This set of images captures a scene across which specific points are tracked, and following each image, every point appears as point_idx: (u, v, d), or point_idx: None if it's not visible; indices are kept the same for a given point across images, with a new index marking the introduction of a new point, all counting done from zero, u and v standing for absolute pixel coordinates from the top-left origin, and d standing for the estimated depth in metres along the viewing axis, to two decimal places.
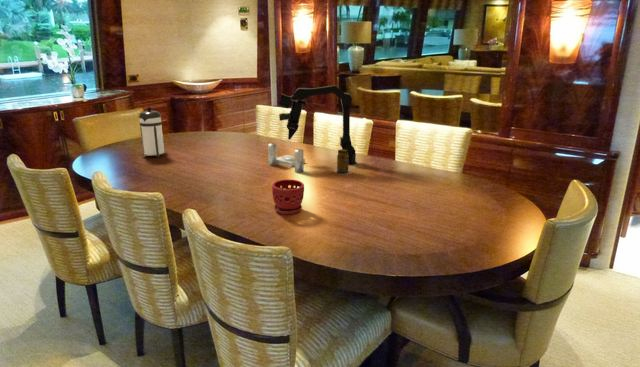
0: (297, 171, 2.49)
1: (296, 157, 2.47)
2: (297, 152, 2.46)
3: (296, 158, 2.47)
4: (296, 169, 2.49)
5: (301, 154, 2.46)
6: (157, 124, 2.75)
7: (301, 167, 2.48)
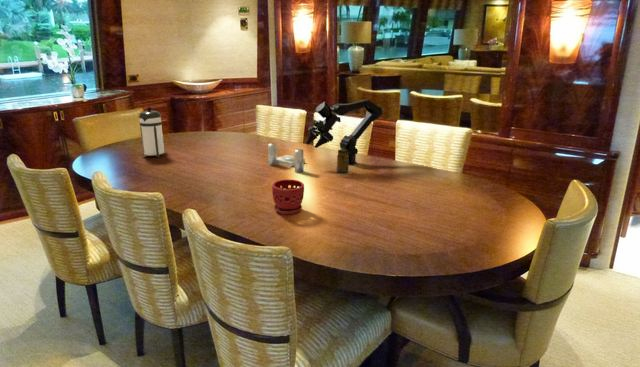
0: (297, 171, 2.49)
1: (296, 157, 2.47)
2: (297, 152, 2.46)
3: (296, 158, 2.47)
4: (296, 169, 2.49)
5: (301, 154, 2.46)
6: (157, 124, 2.75)
7: (301, 167, 2.48)
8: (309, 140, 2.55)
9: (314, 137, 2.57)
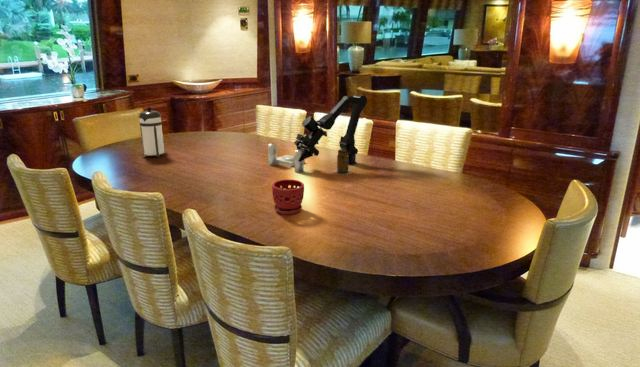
0: (297, 171, 2.49)
1: (296, 157, 2.47)
2: (297, 152, 2.46)
3: (296, 158, 2.47)
4: (296, 169, 2.49)
5: (301, 154, 2.46)
6: (157, 124, 2.75)
7: (301, 167, 2.48)
8: None
9: None
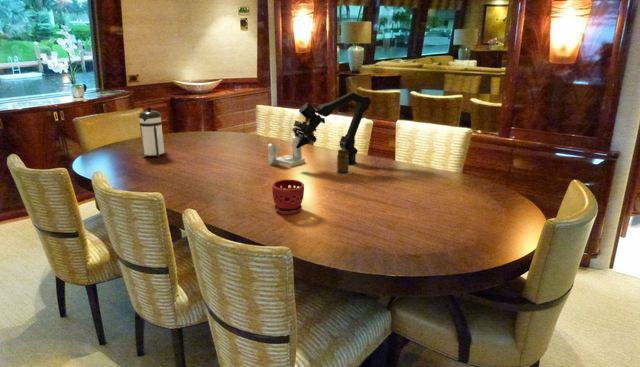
0: (295, 158, 2.49)
1: (294, 144, 2.47)
2: (295, 139, 2.46)
3: (294, 145, 2.47)
4: (294, 156, 2.49)
5: None
6: (157, 124, 2.75)
7: (299, 154, 2.48)
8: None
9: None
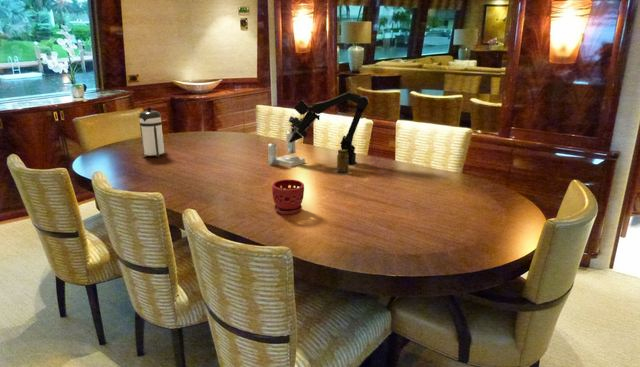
0: (288, 152, 2.63)
1: (287, 138, 2.62)
2: (288, 134, 2.60)
3: (287, 139, 2.62)
4: (287, 150, 2.64)
5: None
6: (157, 124, 2.75)
7: (292, 148, 2.63)
8: None
9: None
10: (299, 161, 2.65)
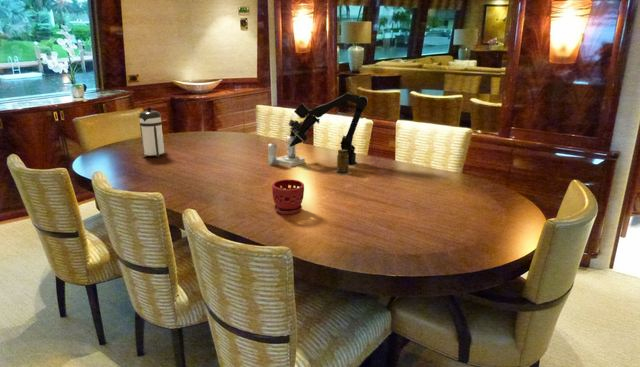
0: (288, 157, 2.64)
1: (287, 143, 2.63)
2: (288, 139, 2.61)
3: (287, 144, 2.63)
4: (288, 155, 2.65)
5: None
6: (157, 124, 2.75)
7: (292, 153, 2.64)
8: None
9: None
10: (299, 161, 2.65)
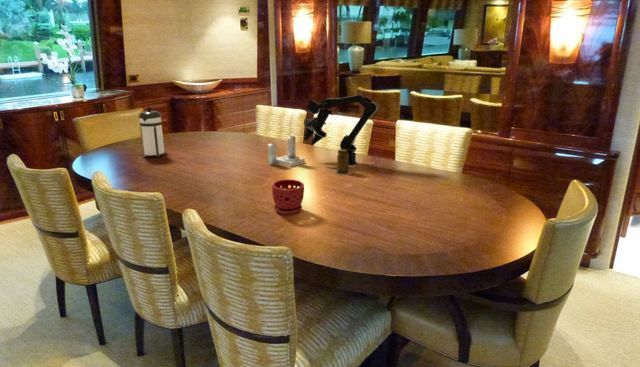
0: (288, 157, 2.64)
1: (287, 143, 2.62)
2: (288, 139, 2.61)
3: (287, 144, 2.63)
4: (288, 155, 2.65)
5: (292, 141, 2.61)
6: (157, 124, 2.75)
7: (292, 153, 2.64)
8: (306, 136, 2.70)
9: (311, 132, 2.71)
10: (299, 161, 2.65)
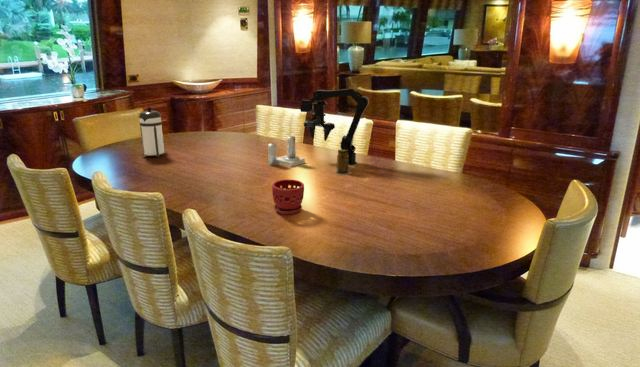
0: (288, 157, 2.64)
1: (287, 143, 2.62)
2: (288, 139, 2.61)
3: (287, 144, 2.63)
4: (288, 155, 2.65)
5: (292, 141, 2.61)
6: (157, 124, 2.75)
7: (292, 153, 2.64)
8: (312, 134, 2.69)
9: (314, 128, 2.70)
10: (299, 161, 2.65)
